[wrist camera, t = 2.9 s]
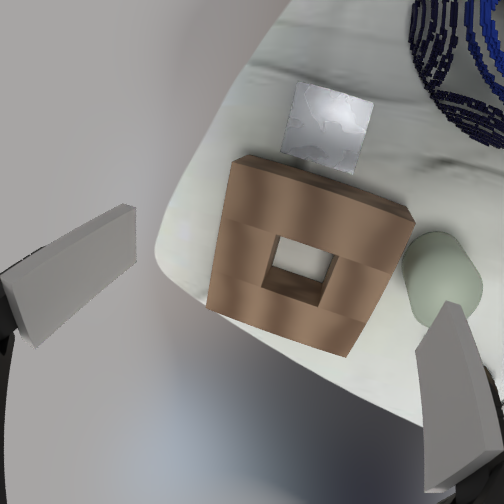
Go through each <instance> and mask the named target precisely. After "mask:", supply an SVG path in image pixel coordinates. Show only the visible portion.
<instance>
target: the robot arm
mask: <svg viewBox="0 0 504 504" xmlns="http://www.w3.org/2000/svg"><path fill="white" fill-rule="evenodd" d="M136 262H137V260H136V207H133V206H129V205H126V204H121V205H119V206H117V207H115V208H113V209H111V210H109V211H107V212H105V213H103V214H102V215H100V216H98V217H96V218H94V219H92V220H90V221H89V222H87V223H85V224H83V225H81V226H80V227H78V228H76V229H74V230H72V231H71V232H69V233H67V234H65V235H64V236H62V237H60V238H59V239H57V240H55V241H53V242H52V243H50V244H48V245H47V246H44V247H41V248H39V249H38V250H36V251H35V252H33V253H31V255H28V256H26V257H25V258H23V260H20V261H18V262H17V263H16V264H14V265H12V266H11V267H9V268H8V269H6V270H5V271H3V272H2V273H0V504H7V499H6V489H5V476H4V475H5V474H4V422H5V421H4V420H5V407H6V396H7V386H8V378H9V370H10V364H11V358H12V352H13V347H14V341H15V335H14V333H13V331H14V330H15V329H17V328H18V330H19V332H20V335H21V337H22V339H23V341H25V342H26V343H27V344H28V345H30V346H31V347H32V348H33V349H36V348H38V346H39V345H41V344H42V343H43V342H44V341H45V340H46V339H47V338H48V337H49V336H51V335H52V334H53V333H54V332H55V331H56V330H57V329H58V328H59V327H61V326H62V325H63V324H64V323H65V322H66V321H67V320H68V319H70V318H71V317H72V316H73V315H74V314H75V313H76V312H77V311H79V310H80V309H81V308H82V307H83V306H84V305H86V304H87V303H88V302H89V301H90V300H91V299H93V298H94V297H95V296H96V295H97V294H98V293H100V292H101V291H102V290H103V289H104V288H106V287H107V286H108V285H109V284H110V283H112V282H113V281H114V280H115V279H116V278H118V277H119V276H120V275H121V274H123V273H124V272H125V271H126V270H127V269H129V268H130V267H131V266H133V265H134V264H135V263H136ZM415 353H416V360H417V367H418V375H419V383H420V392H421V403H422V415H423V430H424V454H425V455H424V459H425V480H424V482H425V483H424V493H443V492H445V491H446V490H448V489H449V488H451V487H453V486H455V485H456V493H454V494H453V495H451V496H449V497H447V498H446V499H444V500H442V501H440V502H438V503H437V504H504V413H503V410H502V409H501V408H502V405H501V402H500V398H499V395H498V393H497V391H496V390H495V388H494V386H493V385H492V383H488V379H487V376H486V373H485V370H484V366H483V363H482V360H481V357H480V354H479V352H478V349H477V346H476V343H475V340H474V338H473V335H472V332H471V330H470V327H469V325H468V322H467V320H466V317H465V315H464V312H463V310H462V307H461V305H459V304H456V303H453V302H450V301H447V300H446V301H445V302H444V304H443V306H442V308H441V309H440V311H439V313H438V315H437V316H436V318H435V320H434V321H433V323H432V325H431V326H430V328H429V330H428V331H427V333H426V335H425V336H424V338H423V339H422V341H421V342H420V344H419V346H418V347H417V349H416V350H415Z"/></svg>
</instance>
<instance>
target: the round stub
mask: <svg viewBox="0 0 504 504" xmlns="http://www.w3.org/2000/svg"><path fill="white" fill-rule="evenodd" d="M402 271H403V276H404V280H405V284H406V288H407V292H408V296H409V300H410V304H411V309H412V312H413V314H414V316H415V318H416V319H417V320H418V321H419V322H420V323H421V324H422V325H424V326H426V327H429V328H430V326H431V325H432V323H433V321H434V320H435V318H436V316H437V315H438V313H439V311H440V309H441V308H442V306H443V304H444V302H445V301H446V300H447V301H450V302H453V303H456V304H459V305H461V307H462V310H463V312H464V315H465V317H466V319H467V318H468V317H469V316H470V315H471V314H472V313H473V312H474V311H475V309H476V308H477V306H478V304H479V302H480V300H481V297H482V292H483V283H482V278H481V276H480V274H479V272H478V271H477V269H476V267H475V266H474V264H473V263H472V261H471V260H470V258H469V257H468V255H467V254H466V252H465V251H464V250H463V248H462V247H461V245H460V244H459V242H458V241H457V240H456V239H455V238H454V237H453V236H451V235H449V234H447V233H443V232H430V233H427V234H424V235H422V236H420V237H419V238H417V239H416V240H415V241H414V242H412V244H411V245H410V246H409V247H408V249H407V251H406V252H405V255H404V258H403V262H402Z"/></svg>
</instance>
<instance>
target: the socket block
mask: <svg viewBox="0 0 504 504" xmlns="http://www.w3.org/2000/svg"><path fill="white" fill-rule="evenodd" d="M415 224H416V223H415V221H414V219H413V217H412V216H411V214H410V212H409V210H408V208H407V207H405V206H403V205H400V204H398V203H395V202H393V201H390V200H387V199H385V198H382V197H380V196H377V195H374V194H371V193H369V192H366V191H363V190H360V189H358V188H355V187H352V186H349V185H346V184H343V183H341V182H338V181H335V180H332V179H329V178H326V177H323V176H320V175H316V174H313V173H310V172H307V171H304V170H301V169H297V168H294V167H291V166H287V165H284V164H281V163H277V162H274V161H270V160H267V159H263V158H259V157H256V156H252V155H246V156H244V157H242V158H239V159H237V160H235V161H233V162H232V165H231V170H230V175H229V180H228V185H227V190H226V195H225V200H224V206H223V211H222V216H221V222H220V227H219V233H218V238H217V244H216V250H215V255H214V261H213V267H212V273H211V279H210V285H209V291H208V297H207V303H206V308H207V309H209V310H212V311H214V312H217V313H219V314H222V315H225V316H227V317H230V318H232V319H235V320H238V321H240V322H243V323H246V324H248V325H251V326H254V327H256V328H259V329H262V330H265V331H267V332H270V333H273V334H276V335H279V336H281V337H284V338H287V339H290V340H293V341H296V342H299V343H302V344H305V345H308V346H311V347H314V348H317V349H320V350H323V351H326V352H329V353H332V354H335V355H339V356H342V357H345V358H346V357H347V355H348V354H349V352H350V350H351V349H352V347H353V345H354V344H355V342H356V340H357V339H358V337H359V335H360V334H361V332H362V330H363V328H364V327H365V325H366V323H367V321H368V320H369V318H370V316H371V314H372V312H373V311H374V309H375V307H376V305H377V303H378V301H379V299H380V297H381V296H382V294H383V292H384V290H385V288H386V286H387V284H388V282H389V280H390V278H391V276H392V274H393V272H394V270H395V268H396V266H397V264H398V262H399V259H400V257H401V255H402V253H403V251H404V249H405V246H406V244H407V242H408V240H409V238H410V235H411V233H412V231H413V228H414V226H415ZM280 236H282V237H285V238H288V239H291V240H294V241H297V242H300V243H303V244H306V245H309V246H312V247H315V248H318V249H320V250H323V251H326V252H329V253H332V254H334V256H333V259H332V261H331V264H330V266H329V269H328V271H327V274H326V276H325V279H324V281H323V283H320V282H317V281H315V280H312V279H309V278H306V277H303V276H300V275H297V274H294V273H291V272H288V271H286V270H283V269H280V268H277V267H274V266H272V264H273V261H274V257H275V254H276V250H277V247H278V243H279V240H280Z"/></svg>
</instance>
